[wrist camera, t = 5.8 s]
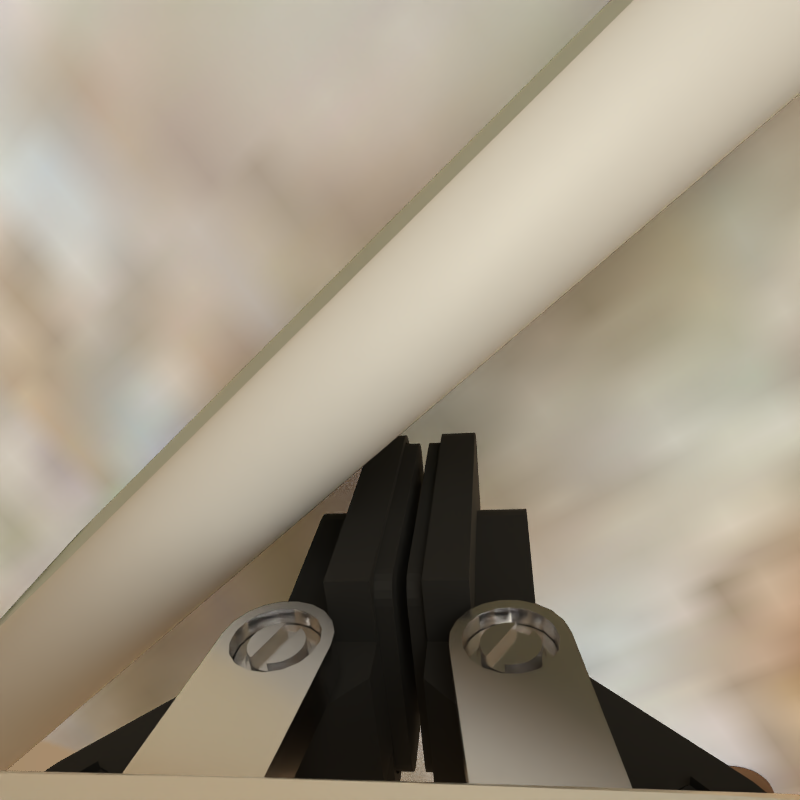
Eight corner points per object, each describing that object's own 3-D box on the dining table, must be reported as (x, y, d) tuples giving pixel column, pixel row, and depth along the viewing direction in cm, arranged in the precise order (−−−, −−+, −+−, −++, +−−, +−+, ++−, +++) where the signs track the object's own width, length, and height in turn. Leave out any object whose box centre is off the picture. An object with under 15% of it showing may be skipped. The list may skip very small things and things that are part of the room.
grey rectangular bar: (751, -147, 10) (1125, -476, 4) (815, -56, 11) (1239, -247, 5) (73, 535, 17) (-162, 790, 10) (127, 579, 17) (-70, 850, 11)
